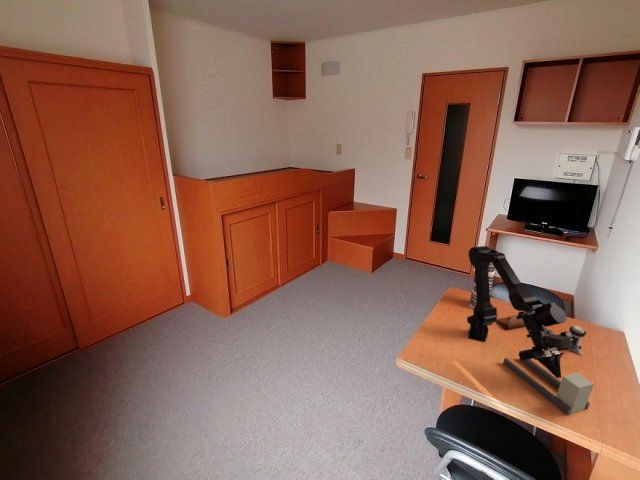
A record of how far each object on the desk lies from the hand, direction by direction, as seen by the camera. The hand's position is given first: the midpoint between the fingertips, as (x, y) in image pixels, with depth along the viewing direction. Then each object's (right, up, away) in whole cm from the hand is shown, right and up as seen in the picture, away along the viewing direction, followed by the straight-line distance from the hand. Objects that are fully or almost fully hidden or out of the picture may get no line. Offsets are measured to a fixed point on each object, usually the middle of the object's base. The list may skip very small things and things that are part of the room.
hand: (559, 377), depth 104 cm
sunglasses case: (+12, +6, +44) cm, 46 cm away
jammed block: (+1, -8, -3) cm, 8 cm away
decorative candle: (+2, +11, +57) cm, 58 cm away
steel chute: (-1, -6, +5) cm, 8 cm away
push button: (+25, 0, +26) cm, 36 cm away
